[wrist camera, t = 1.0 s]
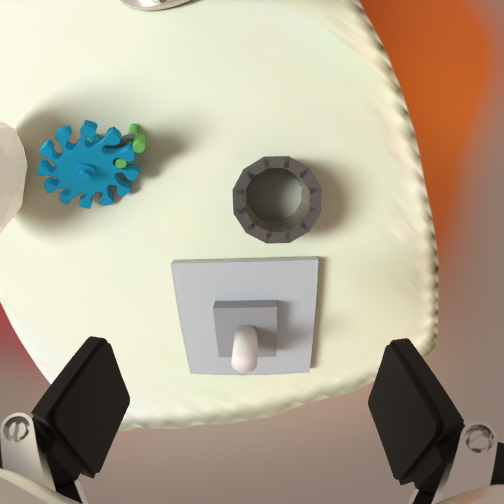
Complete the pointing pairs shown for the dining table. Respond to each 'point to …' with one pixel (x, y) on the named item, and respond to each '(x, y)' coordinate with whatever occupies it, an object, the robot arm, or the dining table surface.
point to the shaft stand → (247, 314)
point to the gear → (91, 163)
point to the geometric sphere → (11, 174)
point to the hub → (290, 226)
